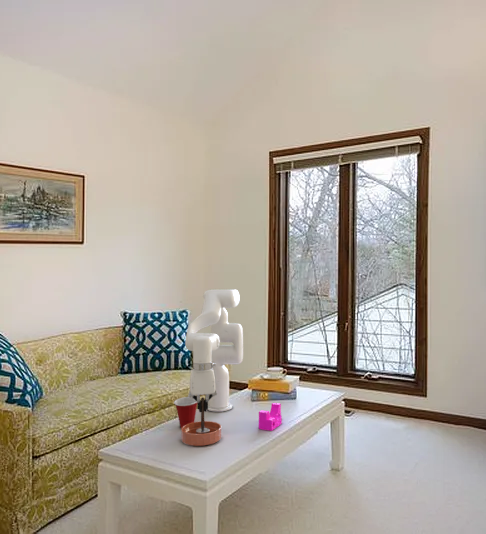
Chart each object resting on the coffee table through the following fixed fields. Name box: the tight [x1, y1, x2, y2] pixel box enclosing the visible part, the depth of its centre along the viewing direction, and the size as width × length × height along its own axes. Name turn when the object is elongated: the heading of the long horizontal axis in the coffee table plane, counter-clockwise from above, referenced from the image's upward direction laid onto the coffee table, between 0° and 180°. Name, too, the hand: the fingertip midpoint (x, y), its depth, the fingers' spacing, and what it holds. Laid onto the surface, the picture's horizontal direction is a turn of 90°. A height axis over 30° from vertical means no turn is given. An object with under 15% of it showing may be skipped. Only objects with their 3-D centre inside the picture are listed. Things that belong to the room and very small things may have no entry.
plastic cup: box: [173, 396, 197, 429], centre depth 217 cm, size 11×11×12 cm
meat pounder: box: [196, 397, 210, 434], centre depth 201 cm, size 6×6×16 cm
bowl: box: [180, 420, 222, 447], centre depth 201 cm, size 16×16×5 cm
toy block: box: [258, 402, 283, 432], centre depth 220 cm, size 15×6×8 cm, turn 156°
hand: (202, 410), depth 201 cm, fingers closed on meat pounder, 1 cm apart
